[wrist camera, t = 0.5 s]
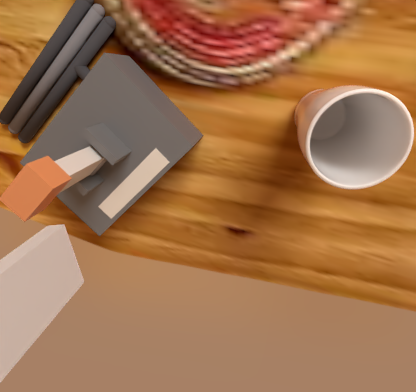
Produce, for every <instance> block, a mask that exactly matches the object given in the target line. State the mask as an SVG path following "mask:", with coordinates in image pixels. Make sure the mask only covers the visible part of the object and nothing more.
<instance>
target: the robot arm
mask: <svg viewBox="0 0 416 392" xmlns="http://www.w3.org/2000/svg"><path fill="white" fill-rule="evenodd" d="M83 283H84V279H83V277H82V274H81V271H80V268H79V265H78V262H77V259H76V256H75V254H74V251H73V248H72V245H71V243H70V239H69V236H68V233H67V231H66V228H65V225H64V224H63V225H50V226H47V227H45V228H44V229H42V230H41V231H40V232H38V233H37V234H36V235H34V236H33V237H31V238H30V239H29V240H27V241H26V242H25V243H23V244H22V245H21V246H19V247H18V248H16V249H15V250H14V251H12V252H11V253H9V254H8V255H7V256H5V257H4V258H2V259H1V260H0V382H1V381H2V380H3V379H4V378H5V376H6V375H7V374H8V373H9V372H10V370H11V369H12V368H13V367H14V366H15V364H16V363H17V362H18V361H19V360H20V358H21V357H22V356H23V355H24V354H25V352H26V351H27V350H28V349H29V347H30V346H31V345H32V344H33V343H34V342H35V340H36V339H37V338H38V337H39V336H40V334H41V333H42V332H43V331H44V329H45V328H46V327H47V326H48V325H49V324H50V322H51V321H52V320H53V319H54V318H55V316H56V315H57V314H58V313H59V311H60V310H61V309H62V308H63V307H64V305H65V304H66V303H67V302H68V301H69V300H70V298H71V297H72V296H73V295H74V294H75V292H76V291H77V290H78V289H79V288H80V286H81V285H82V284H83Z"/></svg>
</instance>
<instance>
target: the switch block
mask: <svg viewBox="0 0 416 392" xmlns="http://www.w3.org/2000/svg"><path fill="white" fill-rule="evenodd" d="M202 136H203V135H202V134H201V133H200V131H199V130H198V129H197V128H196V127H195V126H194V125H193V124H192V123H191V122H190V121H189V120H188V119H187V118H186V117H185V115H184V114H183V113H182V112H181V111H180V110H179V109H178V108H177V107H176V106H175V105H174V104H173V103H172V102H171V100H170V99H169V98H168V97H167V96H166V95H165V94H164V93H163V92H162V91H161V90H160V89H159V88H158V87H157V85H156V84H155V83H154V82H153V81H152V80H151V79H150V78H149V77H148V76H147V75H146V74H145V73H144V72H143V70H142V69H141V68H140V67H139V66H138V65H137V64H136V63H135V62H134V61H133V60H132V59H131V58H130V57H129V56H125V55H117V54H110V53H104V54H103V55H102V56H101V58H100V59H99V60H98V62H97V63H96V64H95V65H94V67H93V68H92V69H91V71H90V72H89V73H88V75H87V76H86V77H85V79H84V80H83V81H82V82H81V84H80V85H79V86H78V88H77V89H76V90H75V92H74V93H73V94H72V96H71V97H70V98H69V99H68V101H67V102H66V103H65V105H64V106H63V107H62V109H61V110H60V111H59V113H58V114H57V115H56V116H55V118H54V119H53V120H52V122H51V123H50V124H49V126H48V127H47V128H46V130H45V131H44V132H43V133H42V135H41V136H40V137H39V139H38V140H37V141H36V143H35V144H34V145H33V147H32V148H31V149H30V150H29V152H28V153H27V154H26V156H25V157H24V158H23V160H22V161H21V162H20V163H21V164H22V165H23V166H25V165H26V164H27V163H30V162H33V161H35V160H38V159H40V158H43V157H46V156H49V157H50V158H51V159H52V160H53V161H56V160H58V159H61V158H63V157H65V156H68V155H70V154H73V153H75V152H77V151H80V150H82V149H84V148H87V147H89V146H91V145H92V146H93V147H94V148H95V149H96V150H97V151H98V152H99V153H100V154H101V155H102V156H103V157H104V158H105V159H106V160H107V161H106V162H105V163H104V164H103V165H102V166H101V168H100V169H99V170H98V171H97V172H96V173H95V174H94V175H92V176H91V175H89V176H87V177H85V178H84V179H82V180H80V181H79V182H77V183H75V184H74V185H72V186H70V187H69V188H67V189H65V190H64V191H62V192H60V193H59V194H58V195H57V197H58V198H59V199H60V200H61V201H62V202H63V203H64V204H65V205H66V206H67V207H68V208H70V209H71V210H72V211H73V212H74V213H75V214H76V215H77V216H78V217H79V218H80V219H81V220H83V221H84V222H85V223H86V224H87V225H88V226H89V227H90V228H91V229H92V230H93V231H94V232H95V233H97V234H98V235H99V236H100V235H101V234H102V233H104V232H105V231H106V230H107V229H108V228H109V227H110V226H111V225H112V224H113V223H114V222H115V221H116V220H117V219H118V218H119V217H120V216H121V215H122V214H123V213H124V212H125V211H126V210H127V209H128V208H130V207H131V206H132V205H133V204H134V203H135V202H136V201H137V200H138V199H139V198H140V197H141V196H142V195H143V194H144V193H145V192H146V191H147V190H148V189H149V188H150V187H151V186H152V185H153V184H155V183H156V182H157V181H158V180H159V179H160V178H161V177H162V176H163V175H164V174H165V173H166V172H167V171H168V170H169V169H170V168H171V167H172V166H173V165H174V164H175V163H176V162H177V161H178V160H179V159H181V158H182V157H183V156H184V155H185V154H186V153H187V152H188V151H189V150H190V149H191V148H192V147H193V146H194V145H195V144H196V143H197V142H198V141H199V140H200V138H201V137H202Z"/></svg>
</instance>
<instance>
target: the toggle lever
mask: <svg viewBox="0 0 416 392" xmlns="http://www.w3.org/2000/svg"><path fill="white" fill-rule="evenodd" d="M106 161H107V160H106V159H105V158H104V157H103V156H102V155H101V154H100V153H99V152H98V151H97V150H96V149H95V148H94V147H93V146H92V145H91V146H89V147H87V148H84V149H82V150H80V151H77V152H75V153H73V154H70V155H68V156H65V157H63V158H61V159H58V160H56V161H53V160H52V159H51V158H50V157H49V156H46V157H43V158H40V159H38V160H35V161H33V162H30V163H27V164H26V165H25V166H24V167H23V169H22V170H21V171H20V173H19V174H18V175H17V176H16V178H15V179H14V180H13V182H12V183H11V184H10V185H9V187H8V188H7V189H6V191H5V192H4V193H3V194H2V196H1V197H0V201H2V202H3V203H4V204H5V205H6V206H7V207H8V208H9V209H11V210H12V211H13V212H14V213H15V214H16V215H17V216H19V217H20V218H21V219H22V220H23V221H24V222H25V221H26V220H28V219H30V218H31V217H33V216H34V215H36V214H38V213H39V212H41V211H42V210H44V209H45V208H46V207H47V206H48V205H49V204H50V203H51V201H52V200H53V199H54V198H55V197H56V196H57V195H58V194H59V193H60V192H62V191H64V190H65V189H67V188H69V187H70V186H72V185H74V184H75V183H77V182H79V181H80V180H82V179H84V178H85V177H87V176H89V175H91V176H92V175H94V174H95V173H96V172H97V171H98V170H99V169H100V168H101V166H102V165H103V164H104V163H105V162H106Z"/></svg>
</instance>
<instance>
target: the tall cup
mask: <svg viewBox="0 0 416 392" xmlns="http://www.w3.org/2000/svg"><path fill="white" fill-rule="evenodd" d="M294 121H295V125H296V128H297V136H298V142H299V146H300V149H301V152H302V154H303V156H304V158H305V160H306V161H307V163H308V164H309V166H310V167H311V169H312V170H313V171H314V172H315V174H316V175H317V176H318V177H319V178H320V179H322V180H323V181H325V182H326V183H328V184H330V185H332V186H335V187H338V188H342V189H363V188H367V187H371V186H374V185H376V184H379V183H381V182H383V181H384V180H386V179H387V178H389V177H390V176H392V175H393V174H394V173H395V172H396V171H397V170H398V169H399V168H400V167H401V166H402V164H403V163H404V162H405V160H406V158H407V157H408V155H409V153H410V150H411V147H412V144H413V139H414V126H413V121H412V118H411V115H410V113H409V111H408V110H407V108H406V107H405V105H404V104H403V103H402V102H401V101H400V100H399V99H397V98H396V97H395V96H393V95H391V94H389V93H387V92H385V91H382V90H378V89H375V88H371V87H366V86H359V85H345V86H338V87H333V88H329V89H318V90H314V91H312V92H310V93H308V94H306V95H305V96H304V97H303V98H302V99H301V100H300V101H299V103H298V105H297V107H296V109H295V114H294Z"/></svg>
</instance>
